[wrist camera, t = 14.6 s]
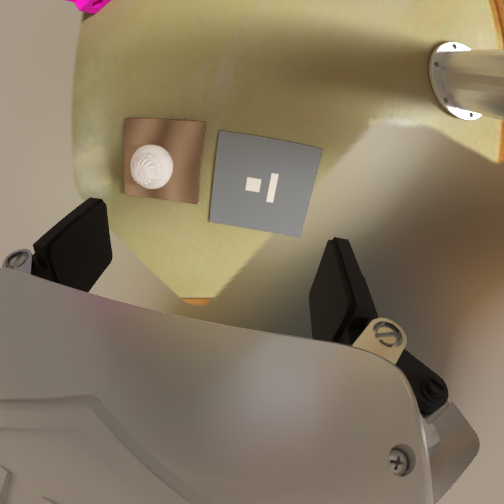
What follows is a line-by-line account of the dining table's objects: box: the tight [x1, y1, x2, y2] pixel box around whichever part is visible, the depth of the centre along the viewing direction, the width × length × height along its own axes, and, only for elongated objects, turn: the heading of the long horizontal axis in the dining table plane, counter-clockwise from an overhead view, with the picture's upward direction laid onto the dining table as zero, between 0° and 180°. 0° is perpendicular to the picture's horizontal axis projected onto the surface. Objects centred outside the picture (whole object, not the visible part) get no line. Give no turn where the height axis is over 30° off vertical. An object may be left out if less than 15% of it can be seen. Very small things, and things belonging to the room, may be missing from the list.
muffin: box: [130, 145, 173, 189], centre depth 33 cm, size 6×6×7 cm
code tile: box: [209, 131, 322, 237], centre depth 38 cm, size 14×14×1 cm
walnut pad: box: [124, 118, 206, 204], centre depth 37 cm, size 12×12×1 cm
